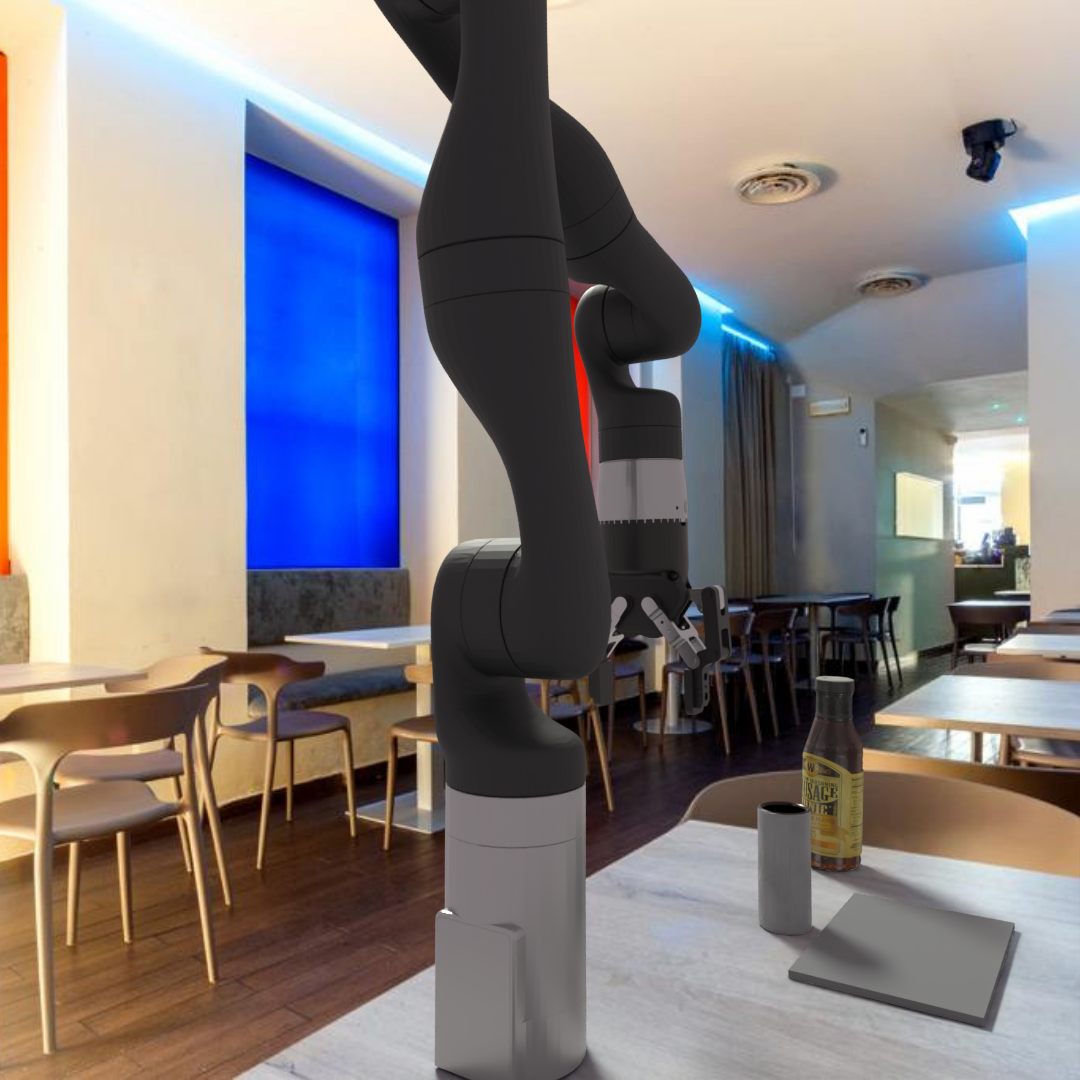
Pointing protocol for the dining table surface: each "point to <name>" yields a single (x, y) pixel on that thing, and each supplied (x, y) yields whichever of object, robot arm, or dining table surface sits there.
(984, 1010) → the mat
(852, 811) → the sauce bottle
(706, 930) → the dining table surface
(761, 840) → the grey hollow cylinder
